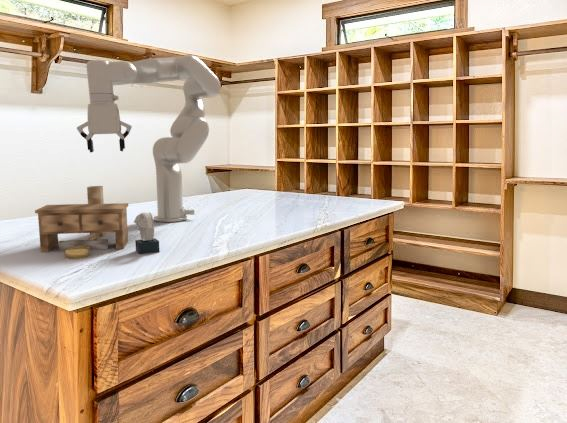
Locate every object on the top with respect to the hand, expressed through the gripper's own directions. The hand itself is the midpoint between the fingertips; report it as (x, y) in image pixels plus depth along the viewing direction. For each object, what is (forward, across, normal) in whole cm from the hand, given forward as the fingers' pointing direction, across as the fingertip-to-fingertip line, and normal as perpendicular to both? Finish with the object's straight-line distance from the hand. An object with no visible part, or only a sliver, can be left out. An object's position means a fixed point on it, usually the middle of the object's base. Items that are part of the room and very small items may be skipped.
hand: (106, 151), depth 160 cm
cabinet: (+26, +4, +26) cm, 37 cm away
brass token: (+26, +5, +38) cm, 46 cm away
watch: (+26, -13, +36) cm, 47 cm away
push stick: (+26, +4, +19) cm, 33 cm away
